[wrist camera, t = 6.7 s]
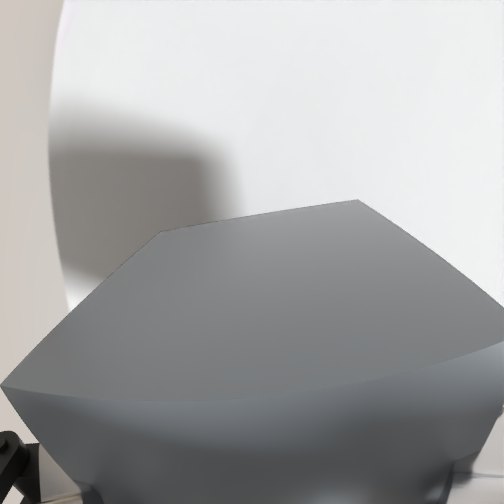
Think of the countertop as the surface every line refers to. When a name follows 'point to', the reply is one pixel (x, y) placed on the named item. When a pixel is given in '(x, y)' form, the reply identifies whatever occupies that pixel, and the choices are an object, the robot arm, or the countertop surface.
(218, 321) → the grey square block
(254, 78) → the countertop surface
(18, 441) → the robot arm
